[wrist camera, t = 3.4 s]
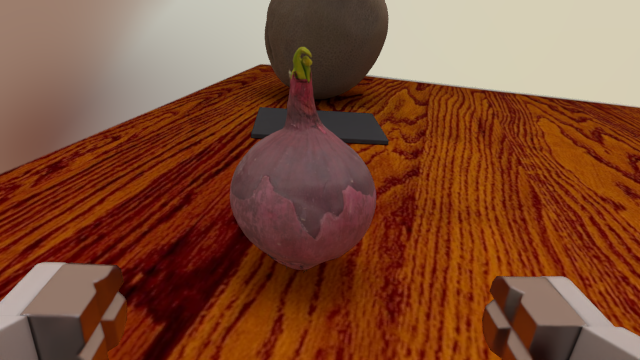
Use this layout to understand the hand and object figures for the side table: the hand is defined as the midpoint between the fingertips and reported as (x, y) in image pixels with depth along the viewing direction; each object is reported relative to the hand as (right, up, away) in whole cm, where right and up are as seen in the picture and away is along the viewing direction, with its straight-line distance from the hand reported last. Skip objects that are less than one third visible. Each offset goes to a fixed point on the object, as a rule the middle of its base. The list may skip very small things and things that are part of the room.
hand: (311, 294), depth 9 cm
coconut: (0, +13, +44) cm, 45 cm away
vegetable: (-1, -2, +11) cm, 11 cm away
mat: (0, +8, +32) cm, 33 cm away
